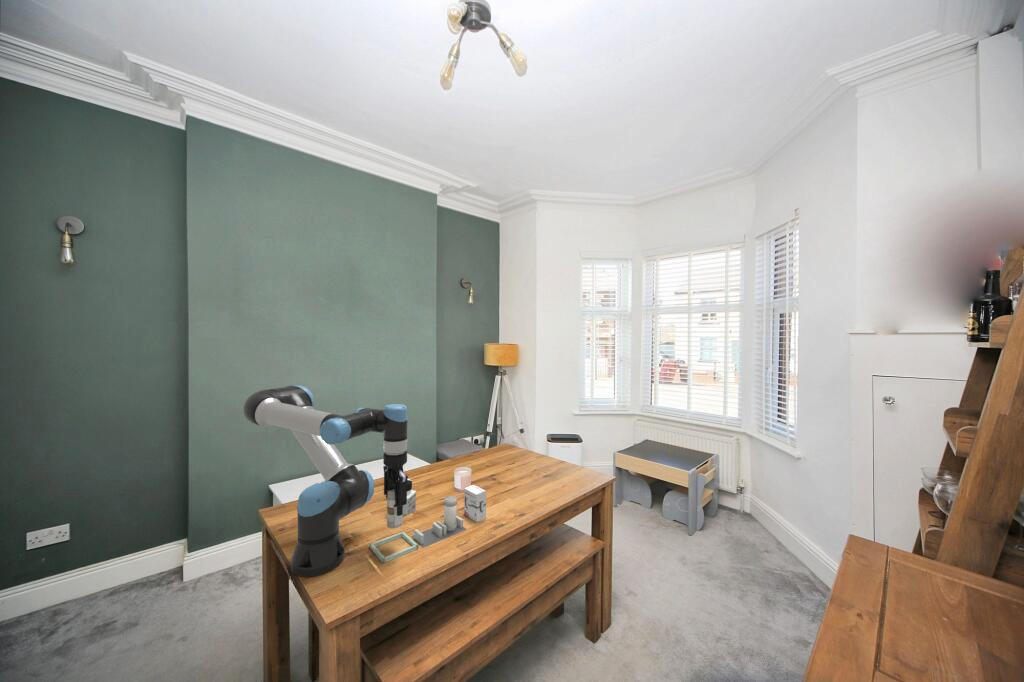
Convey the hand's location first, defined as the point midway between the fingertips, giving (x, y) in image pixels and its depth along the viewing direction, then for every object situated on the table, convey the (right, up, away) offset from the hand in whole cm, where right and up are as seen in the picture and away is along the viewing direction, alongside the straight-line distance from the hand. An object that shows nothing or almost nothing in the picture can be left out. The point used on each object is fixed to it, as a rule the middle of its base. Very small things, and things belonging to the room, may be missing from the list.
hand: (394, 520), depth 123 cm
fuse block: (+13, -10, +10) cm, 19 cm away
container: (-5, -10, +27) cm, 29 cm away
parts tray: (0, -10, 0) cm, 10 cm away
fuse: (+16, -9, +13) cm, 23 cm away
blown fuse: (0, -1, 0) cm, 1 cm away
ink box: (+24, -11, +23) cm, 35 cm away
